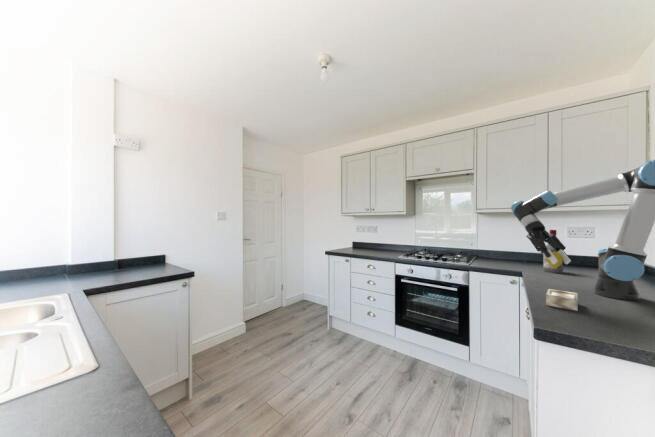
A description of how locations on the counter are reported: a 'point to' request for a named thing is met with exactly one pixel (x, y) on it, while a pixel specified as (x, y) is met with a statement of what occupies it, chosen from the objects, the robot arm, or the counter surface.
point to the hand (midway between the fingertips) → (561, 262)
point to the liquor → (545, 265)
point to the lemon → (557, 259)
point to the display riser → (562, 299)
